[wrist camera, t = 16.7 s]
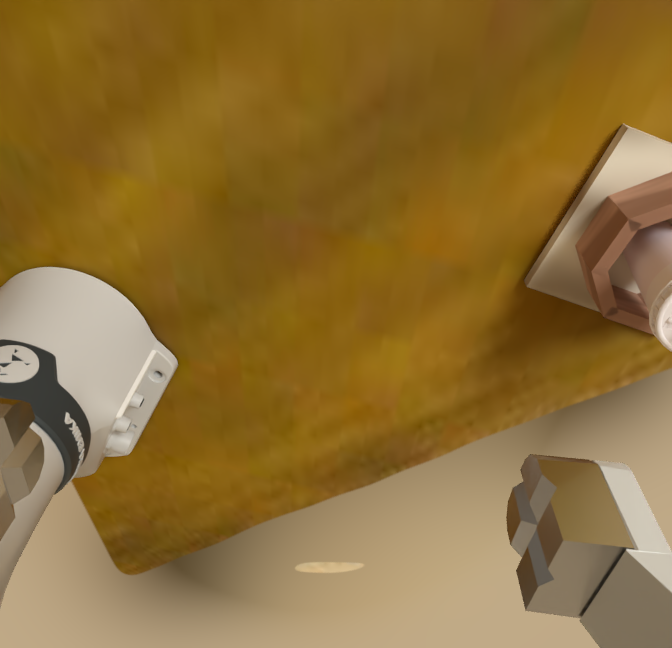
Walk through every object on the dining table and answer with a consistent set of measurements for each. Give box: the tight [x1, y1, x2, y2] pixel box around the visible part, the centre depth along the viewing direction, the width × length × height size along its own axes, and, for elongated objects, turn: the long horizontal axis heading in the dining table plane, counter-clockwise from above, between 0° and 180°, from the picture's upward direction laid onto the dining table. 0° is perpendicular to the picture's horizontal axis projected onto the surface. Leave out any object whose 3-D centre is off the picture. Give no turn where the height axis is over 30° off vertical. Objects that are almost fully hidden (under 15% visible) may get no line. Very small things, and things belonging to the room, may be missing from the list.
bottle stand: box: [524, 124, 672, 335], centre depth 40 cm, size 13×13×5 cm
